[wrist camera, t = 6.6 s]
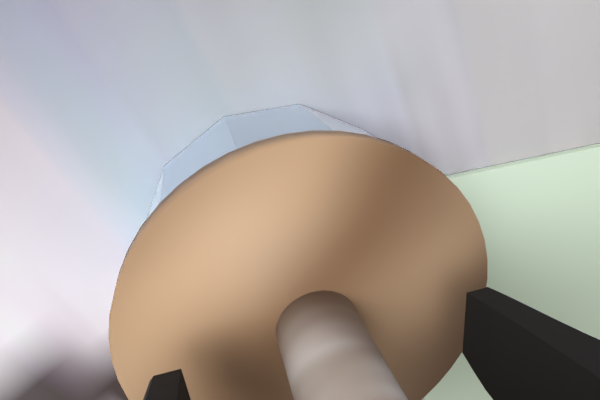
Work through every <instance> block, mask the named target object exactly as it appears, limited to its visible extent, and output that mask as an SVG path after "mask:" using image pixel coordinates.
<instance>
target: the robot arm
mask: <svg viewBox="0 0 600 400" xmlns="http://www.w3.org/2000/svg"><path fill="white" fill-rule="evenodd" d="M462 353H463V355H464V356H465V358H466V360H467V361H468V363H469V365H470V366H471V368H472V370H473V371H474V373H475V374H476V376H477V377H478V379H479V381H480V382H481V384H482V385H483V387H484V388H485V390H486V391H487V392H488V394H489V395H490V396H491V398H492V399H493V400H600V340H599V339H597V338H595V337H592V336H590V335H588V334H586V333H584V332H581V331H579V330H577V329H575V328H573V327H571V326H569V325H567V324H564V323H562V322H560V321H558V320H556V319H554V318H552V317H550V316H548V315H546V314H544V313H542V312H540V311H538V310H536V309H534V308H531V307H529V306H527V305H525V304H523V303H521V302H519V301H517V300H515V299H513V298H511V297H509V296H507V295H505V294H503V293H500V292H498V291H496V290H494V289H491V288H489V287H486V288H482V289H478V290H475V291H471V292H467V294H466V309H465V323H464V337H463V351H462ZM143 400H191V399H190V396H189V392H188V389H187V386H186V383H185V380H184V376H183V373H182V370H181V369H178V370H174V371H170V372H166V373H162V374H159V375H155V376H153V377H152V379H151V380H150V382H149V384H148V387H147V390H146V393H145V396H144V398H143Z"/></svg>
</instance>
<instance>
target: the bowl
mask: <svg viewBox="0 0 600 400" xmlns="http://www.w3.org/2000/svg"><path fill="white" fill-rule="evenodd" d="M311 130H324V131H345V132H352V133H359V134H365V135H369V136H372V135H371V134H369V133H368V132H366V131H365V130H363V129H361V128H358V127H356V126H353V125H351V124H348V123H346V122H343V121H341V120H338V119H336V118H333V117H331V116H328V115H326V114H323V113H321V112H318V111H316V110H313V109H311V108H308V107H306V106H303V105H301V104H296V105H290V106H284V107H278V108H272V109H266V110H260V111H254V112H248V113H242V114H236V115H230V116H224V117H223V118H222V119H220V120H219V121H218V122H217V123H216V124H214V125H213V126H212V127H211V128H210V129H208V130H207V131H206V132H205V133H203V134H202V135H201V136H200V137H199V138H197V139H196V140H195V141H194V142H193V143H191V144H190V145H189V146H188V147H186V148H185V149H184V150H183V151H182V152H180V153H179V154H178V155H177V156H176V157H174V158H173V159H172V160H171V161H170V162H168V163H167V164H166V165H165V166H164V169H163V172H162V175H161V178H160V181H159V184H158V187H157V190H156V193H155V196H154V199H153V202H152V205H151V208H150V211H149V214H148V217H149V216H150V215H151V213H152V212H153V211H154V209H155V208H156V207H157V206H158V204H159V203H160V202H161V201H162V200H163V199H164V198H166V197H167V196H168V195H169V194H170V193H171V192H172V191H173V190H174V189H175V188H176V187H177V186H178V185H179V184H180V183H182V182H183V181H184V180H186V179H187V178H188V177H190V176H191V175H192V174H194V173H195V172H196V171H198V170H199V169H200V168H202V167H203V166H205V165H207V164H209V163H210V162H212V161H214V160H216V159H218V158H219V157H221V156H223V155H225V154H227V153H228V152H231V151H233V150H236V149H238V148H241V147H243V146H246V145H248V144H251V143H253V142H256V141H259V140H263V139H267V138H271V137H275V136H278V135H282V134H288V133H296V132H304V131H311ZM372 137H374V136H372ZM148 217H147V218H148Z"/></svg>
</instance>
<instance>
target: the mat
mask: <svg viewBox="0 0 600 400" xmlns="http://www.w3.org/2000/svg"><path fill="white" fill-rule="evenodd" d="M446 177H447V178H448V179H449V180H450V181H451V182H452V183H454V184H455V185H456V186H457V187H458V189H459V190H460V191H461V193H462V194H463V195H464V197H465V198H466V199H467V201H468V202H469V203H470V205H471V207H472V209H473V211H474V213H475V215H476V217H477V219H478V221H479V223H480V227H481V230H482V233H483V236H484V239H485V245H486V252H487V259H488V265H487V285H486V287H489V288H491V289H494V290H496V291H498V292H500V293H503V294H505V295H507V296H509V297H511V298H513V299H515V300H517V301H519V302H521V303H523V304H525V305H527V306H529V307H531V308H534V309H536V310H538V311H540V312H542V313H544V314H546V315H548V316H550V317H552V318H554V319H556V320H558V321H560V322H562V323H564V324H567V325H569V326H571V327H573V328H575V329H577V330H579V331H581V332H584V333H586V334H588V335H590V336H592V337H595V338H597V339H599V340H600V143H599V144H594V145H589V146H585V147H580V148H575V149H570V150H566V151H561V152H556V153H551V154H547V155H542V156H537V157H532V158H528V159H523V160H518V161H513V162H508V163H504V164H499V165H494V166H489V167H485V168H480V169H475V170H470V171H466V172H461V173H456V174H451V175H447V176H446ZM422 400H493V399H492V398H491V396H490V395H489V394H488V392H487V391H486V390H485V388H484V387H483V385H482V384H481V382H480V381H479V379H478V377H477V376H476V374H475V373H474V371H473V370H472V368H471V366H470V365H469V363H468V361H467V360H466V358H465V356H464V355H463V353H461V354H460V356H459V357H458V359H457V360H456V362H455V363H454V365H453V366H452V367H451V369H450V370H449V371H448V372H447V373H446V375H445V376H444V377H443V378H442V379H441V381H440V382H439V383H438V384H437V385H436V386H435V387H434V388H433V389H432V390H431V391H430V392H429V393H428V394H427V395H426V396H425V397H424V398H423V399H422Z"/></svg>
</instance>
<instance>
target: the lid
mask: <svg viewBox="0 0 600 400" xmlns="http://www.w3.org/2000/svg"><path fill="white" fill-rule="evenodd" d="M487 265H488V259H487V252H486V245H485V239H484V236H483V233H482V230H481V227H480V223H479V221H478V219H477V217H476V215H475V213H474V211H473V209H472V207H471V205H470V203H469V202H468V201H467V199H466V198H465V197H464V195H463V194H462V193H461V191H460V190H459V189H458V187H457V186H456V185H455V184H454V183H452V182H451V181H450V180H449V179H448V178H447V177H446V176H445V175H444V174H443V173H442V172H440V171H439V170H438V169H436V168H435V167H433V166H432V165H430V164H429V163H427V162H426V161H424V160H423V159H421V158H419V157H418V156H416V155H415V154H413V153H411V152H410V151H408V150H406V149H404V148H401V147H399V146H397V145H395V144H393V143H391V142H389V141H386V140H382V139H379V138H376V137H372V136H369V135H365V134H359V133H352V132H345V131H324V130H311V131H304V132H296V133H288V134H282V135H278V136H275V137H271V138H267V139H263V140H259V141H256V142H253V143H251V144H248V145H246V146H243V147H241V148H238V149H236V150H233V151H231V152H228V153H227V154H225V155H223V156H221V157H219V158H218V159H216V160H214V161H212V162H210V163H209V164H207V165H205V166H203V167H202V168H200V169H199V170H198V171H196V172H195V173H194V174H192V175H191V176H190V177H188V178H187V179H186V180H184V181H183V182H182V183H180V184H179V185H178V186H177V187H176V188H175V189H174V190H173V191H172V192H171V193H170V194H169V195H168V196H167V197H166V198H164V199H163V200H162V201H161V202H160V203H159V204H158V206H157V207H156V208H155V209H154V211H153V212H152V213H151V215H150V216H149V217H148V218H147V220H146V221H145V222H144V223H143V225H142V226H141V228H140V229H139V231H138V233H137V235H136V236H135V238H134V240H133V242H132V243H131V245H130V247H129V249H128V251H127V254H126V256H125V259H124V261H123V264H122V267H121V269H120V272H119V275H118V279H117V283H116V288H115V292H114V296H113V301H112V306H111V310H110V317H109V344H110V352H111V359H112V363H113V366H114V369H115V372H116V375H117V378H118V381H119V383H120V385H121V386H122V388H123V390H124V392H125V394H126V396H127V398H128V399H129V400H143V398H144V396H145V393H146V390H147V387H148V384H149V382H150V380H151V379H152V377H153V376H155V375H159V374H162V373H166V372H170V371H174V370H178V369H181V370H182V373H183V376H184V380H185V383H186V386H187V389H188V392H189V396H190V399H191V400H422V399H423V398H424V397H425V396H426V395H427V394H428V393H429V392H430V391H431V390H432V389H433V388H434V387H435V386H436V385H437V384H438V383H439V382H440V381H441V379H442V378H443V377H444V376H445V375H446V373H447V372H448V371H449V370H450V369H451V367H452V366H453V365H454V363H455V362H456V360H457V359H458V357H459V356H460V354H461V353H462V351H463V337H464V323H465V309H466V294H467V292H471V291H475V290H478V289H482V288H486V285H487Z"/></svg>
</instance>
